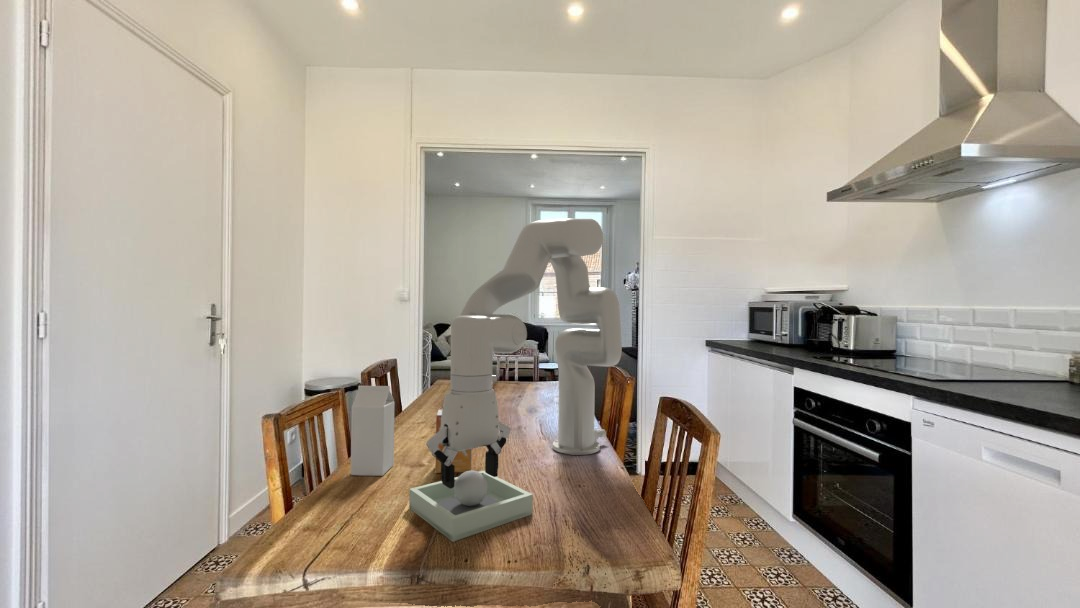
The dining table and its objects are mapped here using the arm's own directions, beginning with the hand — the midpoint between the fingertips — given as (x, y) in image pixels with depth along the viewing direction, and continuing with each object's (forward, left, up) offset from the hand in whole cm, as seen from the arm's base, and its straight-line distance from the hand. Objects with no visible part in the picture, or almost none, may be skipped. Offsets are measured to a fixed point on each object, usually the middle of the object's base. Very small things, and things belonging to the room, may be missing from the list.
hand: (470, 479), depth 84 cm
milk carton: (+6, -32, -6) cm, 33 cm away
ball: (0, 0, -1) cm, 1 cm away
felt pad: (0, 0, -6) cm, 6 cm away
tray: (0, 0, -6) cm, 6 cm away
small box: (-9, -22, -6) cm, 24 cm away
